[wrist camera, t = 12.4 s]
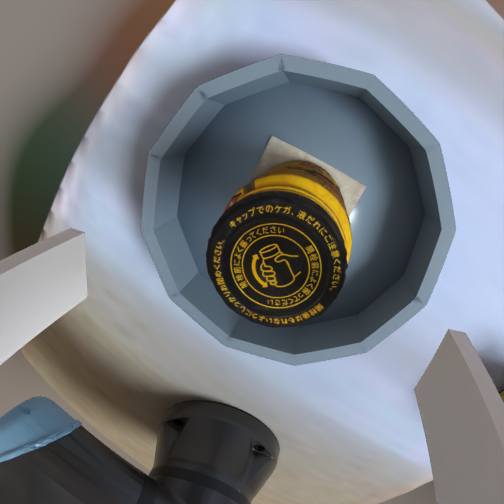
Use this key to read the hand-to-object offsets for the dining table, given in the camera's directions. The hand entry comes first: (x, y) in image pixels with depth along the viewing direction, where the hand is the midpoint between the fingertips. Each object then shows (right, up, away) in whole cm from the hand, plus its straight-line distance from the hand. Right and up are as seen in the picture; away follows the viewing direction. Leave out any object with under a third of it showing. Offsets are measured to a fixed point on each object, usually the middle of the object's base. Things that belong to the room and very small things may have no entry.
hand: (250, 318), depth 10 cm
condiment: (+3, +5, +13) cm, 14 cm away
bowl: (+4, +5, +13) cm, 15 cm away
